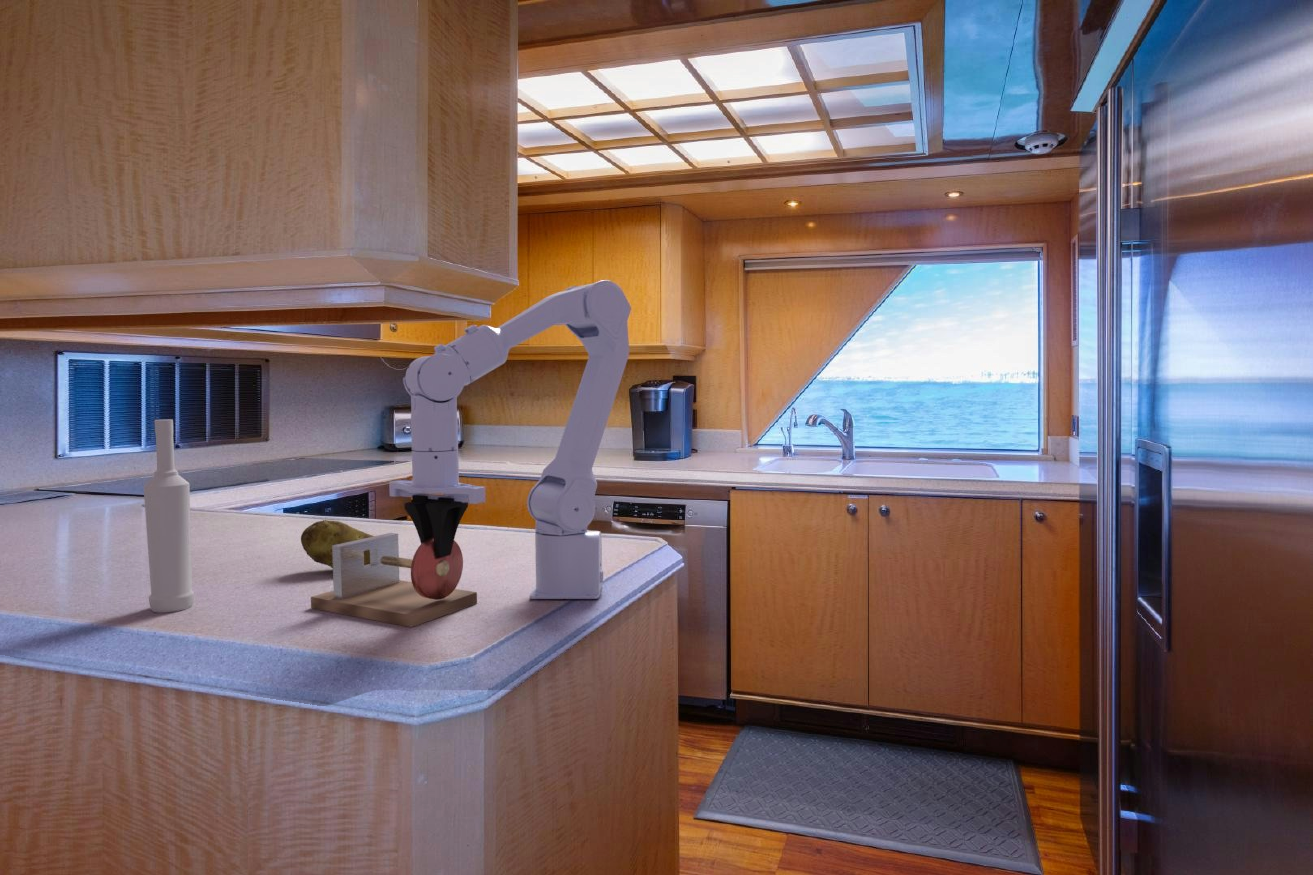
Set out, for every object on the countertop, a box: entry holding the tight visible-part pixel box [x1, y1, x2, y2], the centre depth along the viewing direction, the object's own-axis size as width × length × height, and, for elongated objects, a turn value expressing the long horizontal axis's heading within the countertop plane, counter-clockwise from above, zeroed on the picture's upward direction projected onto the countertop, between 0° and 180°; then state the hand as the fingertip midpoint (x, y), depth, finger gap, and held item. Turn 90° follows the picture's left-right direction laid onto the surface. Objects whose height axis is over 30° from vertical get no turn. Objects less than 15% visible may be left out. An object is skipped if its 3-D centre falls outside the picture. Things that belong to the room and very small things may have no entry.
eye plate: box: [332, 532, 400, 600], centre depth 110 cm, size 2×10×7 cm, turn 152°
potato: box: [300, 519, 375, 569], centre depth 128 cm, size 8×13×8 cm, turn 82°
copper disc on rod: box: [380, 537, 464, 600], centre depth 106 cm, size 11×8×8 cm
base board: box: [310, 579, 478, 628], centre depth 108 cm, size 18×12×2 cm, turn 62°
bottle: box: [143, 418, 195, 614], centre depth 106 cm, size 5×5×25 cm
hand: (437, 555), depth 103 cm, fingers closed on copper disc on rod
